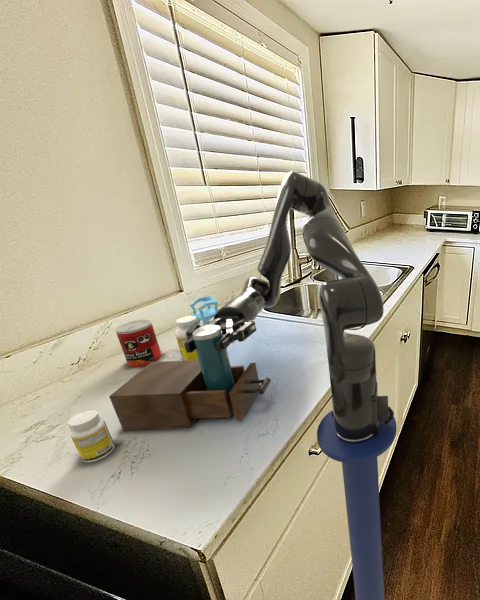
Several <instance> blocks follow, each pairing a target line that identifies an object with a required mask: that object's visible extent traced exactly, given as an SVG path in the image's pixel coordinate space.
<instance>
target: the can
mask: <svg viewBox="0 0 480 600" xmlns="http://www.w3.org/2000/svg"><path fill="white" fill-rule="evenodd" d="M192 334H193V342H194V345H195V349H196V353H197V356H198V360H199V364H200V367H201V371H202V374H203V378H204V382H205V385H206V389H207V391H213V390H226V393H227V396H228V395H229V393H230V391H231V390H232V389H233V387H234V386H235V382H234V378H233V374H232V370H231V366H232V365H231V362H230V358H229V352H228V349H227V348H226V349H224V350H223V351H218V350H217V346H216V342H217V341H218V340H219V339H220V338H221V337H222V336H223V332H222V330H221V328H220V326H218V325H208V326H203V327H200V328H198V329H196V330H194V331H193V333H192Z"/></svg>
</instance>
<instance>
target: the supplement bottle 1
mask: <svg viewBox="0 0 480 600" xmlns="http://www.w3.org/2000/svg"><path fill="white" fill-rule="evenodd" d="M67 425H68V428H69V430H70V433H69V435H70V438H71V441H72V442H73V444H74V446H75V448H76V450H77V452H78V454H79V456H80V458H81V461H82V462H85V463H93V462H97V461H100V460H102V459H104V458H105V457H107V456H109V455H110V454H111V453H112V452H113V451H114V449H115V448H116V447H115V446H116V445H115V442H114V439H113V437H112V435H111V433H110V430H109V427H108V425H107V424H106V421H105V420H104V419H103V418H101V416H100V415H99V412H98V411H97V410H92V409H90V410H86V411H82V412H79V413H77V414H75V415H73V417H71V418H70V419H68V422H67Z"/></svg>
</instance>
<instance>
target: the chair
mask: <svg viewBox="0 0 480 600" xmlns="http://www.w3.org/2000/svg"><path fill="white" fill-rule="evenodd" d="M200 302H203V303H202V304H201V305H200V306H198V307H197V309H196V307H195V305H196V304H198V303H200ZM218 303H219V302H218V300H217V299H216V298H215V297H214V296H211V295H209V296H202V297H199V298H197V299H195V300H194V301H193V302H192V303H190V304H189V306H190V308H191V309H192V313H190V316H196V318H197V322H199V323H200V324H201V322H202V325H204V324H207V323H208V322H209V321H211V320H213V319H214V316H215V314H216V312H217V311H218V310H219V309H218V305H219V304H218ZM212 305H213V306H214V307H211V306H212ZM206 307H207V308H206ZM204 308H205V309H204ZM197 310H198V311H197Z"/></svg>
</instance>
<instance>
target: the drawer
mask: <svg viewBox="0 0 480 600" xmlns="http://www.w3.org/2000/svg"><path fill="white" fill-rule="evenodd" d="M230 366H231V370H232V374H233V378H234V382H235V386H234V387H233V389H232V390H231V391H230V393H229V395H228V396H227V393H226V390H213V391H207V389H206V385H205V382H204V378H203V374H201V375H200V376H199V378H198V379H197V380H196V381H195V382H194V383H193V384H192V385H191V386H190V387H189V388H188V390H187V391H186V392H185V393H184V394H183V395H184V398H185V402H186V405H187V408H188V411H189V415H190V418H191V419H195V418H198V419H215V418H217V419H218V418H231V417H232V415H234V419H235V421H241V420H242V419H243V418H244V416H245V414H246V413H247V411H248V409H249V407H250V405H251V404H252V402H253V400H254V399H255V397H256V395H257V394H258V395H261V396H263V395H264V394H265V392H266V390H267V389H268V386H269V385H270V383H271V378H270V377H268V376H267V377H265V378H264V379H260V378H259V374H258V369H257V363H256V362H250V363H249V365H248V366H247V367H246V369H245V367H244V365H230Z"/></svg>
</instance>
